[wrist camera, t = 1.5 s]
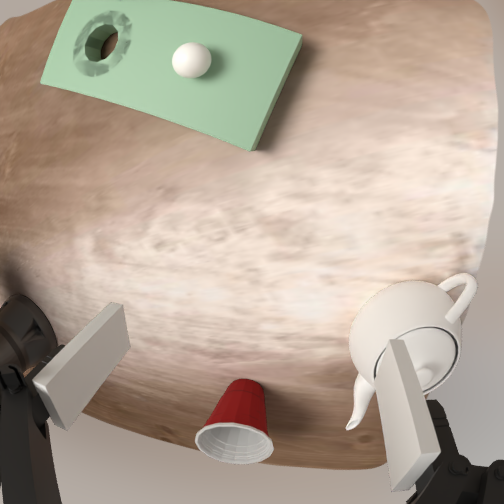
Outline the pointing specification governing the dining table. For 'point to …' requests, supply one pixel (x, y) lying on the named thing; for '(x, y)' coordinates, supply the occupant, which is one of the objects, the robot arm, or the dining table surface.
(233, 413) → the plastic cup
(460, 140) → the dining table surface
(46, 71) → the putting board
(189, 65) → the ball
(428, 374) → the teapot
